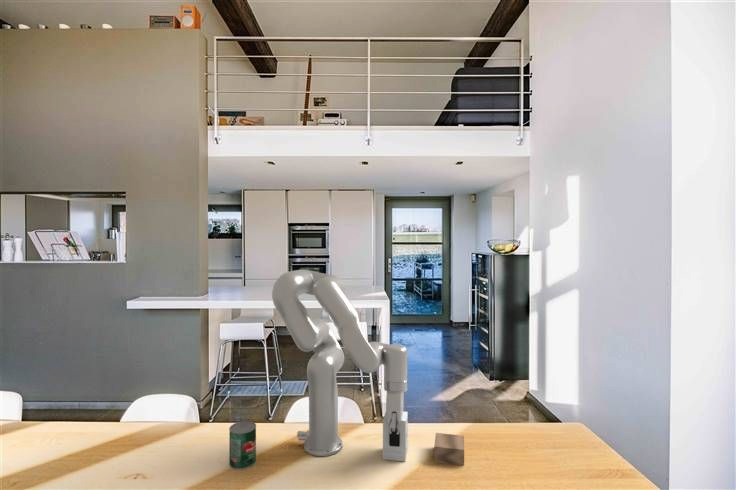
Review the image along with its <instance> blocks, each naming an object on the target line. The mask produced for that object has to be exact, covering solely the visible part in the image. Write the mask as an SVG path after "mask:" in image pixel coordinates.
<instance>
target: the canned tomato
mask: <svg viewBox="0 0 736 490" xmlns="http://www.w3.org/2000/svg"><path fill="white" fill-rule="evenodd" d="M228 430H229V436H228V437H229V445H228V447H229V452H228V453H229V456H228V457H229V462H228V463H229V464H228V466H229V468H230V469H232V470H240V471H241V470H242V471H243V470H246V469H249V468H251V467H253V466H254V465H255V464H256V463H257V424H256V423H255V422H254V421H249V420H244V421H243V420H242V421H238V422H236V423H234V424H231V426H229V429H228Z"/></svg>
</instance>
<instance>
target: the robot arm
mask: <svg viewBox="0 0 736 490" xmlns="http://www.w3.org/2000/svg"><path fill="white" fill-rule="evenodd" d="M344 292H345V284H344V281H343V280H342V279H341V278H340V277H338V276H336V275H332V274H328V273H322V272H319V271H315V270H310V269H295V270H291V271H287V272H285V273H283V274H282V275H280V276H279V277H278V278H277V279H276V281H275V282H274V284H273V286H272V292H271V297H272V298H271V299H272V303H273V306H274V307H275V309H276V311H277V312H278V314H279V316H280V318H281V319H282V322H283V324H285V327H286V328H287V330H288V333H289V334H290V336H291V338H292V339H293V340H292V341H294V344H295V345H296V346H297V348H298V349H299V350H300V351H302V352H306V353H309V352H311V351H313V353H314V354H313V355H312V356H311V358H310V359H309V360H308V363H307V367H306V375H307V383H308V423H309V424H308V430H307V431H303V430H297V432H296V433H297V434H296V436H297V437H296V438H298V441H304V444H303V449H304V450H305V452H306V453H307V454H309V455H312V456H315V457H327V456H332V455H334V454H336V453H338V452H340V451H341V450H342V448H343V440H342V438H341V437H339V392H338V390H339V389H338V388H339V387H338V383H337V373H338V372H339V371H340V369H342V367H343V365H344V363H345V354H344V351H343V349H342V346H343V348H344V350H345V352H346V353H347V355H348V356H349V358H350V359H351V360H352V362H353V363H354V365H355V366H356V367H357V369H359V370H360V371H362V372H363V373H366V374H371V373H374V372H377V370H379V368H380V366H381V365H383V390H384V391H386V397H385V401H386V404H385V413H386V424H389V423H390V432H389V445H390V446H395V447H399V446H400V433H399V425H400V424H401V420H402V416H403V411H404V403H405V397H404V396H405V394H404V393H405V392H407V391H408V349H407V347H406V346H405V345H404V344H400V343H398V344H397V343H391V344H390V343H389V344H388V343H384V342H380V341H370V342H368V340H367V338H366V337H365V335H364V333H363V331H362V329H361V325H360V318H359V313H358V311H357V309H356V308H355V307H354V305H353V304H352V302H351V301H350V300H349V298H348V297H347V295H346V294H345V293H344ZM304 294H306V295H312V296H314V297H315V299H316V301H317V302H318V304H319V305H320V306H321V308H322V309H323V311H324V312H325V313H326V315H327V316H328V317H329V319H330V321H331V322H332V323H333V325H334V326H335V327H336V328H335V329H336V330H337V334H338V336H339V339H340V341H341V344H342V346H341V344H339V342H338V340H337V337H336V336H335V334H334V333H333V331H332V329H331V328H330V326H329V325H328V323H327V322H325V321H324V320H323V319H321V318H319V317H317V318H316V317H313V318H312V317H311V315H310V313H309V312H308V309H307V308H306V305H304V304H303V303H302V301H301V300H300V298H299V296H301V295H304ZM396 414H397V416H396ZM391 420H392V423H391ZM396 420H398V423H396ZM396 425H397V428H396Z"/></svg>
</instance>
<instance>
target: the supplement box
mask: <svg viewBox="0 0 736 490" xmlns="http://www.w3.org/2000/svg"><path fill="white" fill-rule="evenodd" d="M408 414H409V412H408V411H405V410H403V416H402V420H401V424H400V425H399V433H400V446H399V447H395V446H390V445H389V432H390V423H389V424H386V412H385V413H384V416H383V419H382V460H390V461H398V462H406V459H407V453H408V441H409V440H408V437H409V436H408V433H409V431H408V430H409V429H408V428H409V426H408V424H409V423H408V417H409V416H408ZM396 416H397V414H396ZM391 423H392V420H391ZM396 423H398V420H396ZM396 428H397V425H396Z"/></svg>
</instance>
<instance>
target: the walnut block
mask: <svg viewBox="0 0 736 490" xmlns="http://www.w3.org/2000/svg"><path fill="white" fill-rule="evenodd" d="M433 447H434V448H433V449H434V451H433V453H434V455H433V456H434V457H433V460H434V463H441V464H448V465H450V464H451V465H457V466H465V436H464V435H460V434H451V433H441V432H436V433H435V438H434V446H433Z"/></svg>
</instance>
